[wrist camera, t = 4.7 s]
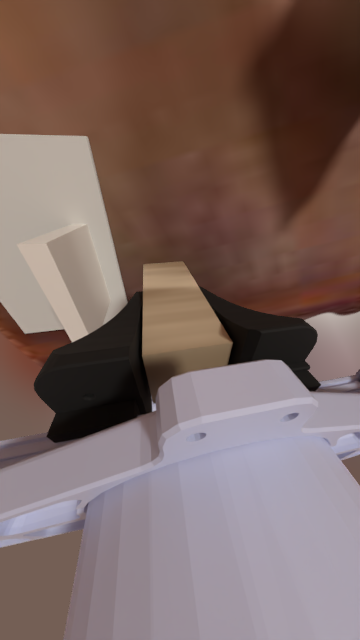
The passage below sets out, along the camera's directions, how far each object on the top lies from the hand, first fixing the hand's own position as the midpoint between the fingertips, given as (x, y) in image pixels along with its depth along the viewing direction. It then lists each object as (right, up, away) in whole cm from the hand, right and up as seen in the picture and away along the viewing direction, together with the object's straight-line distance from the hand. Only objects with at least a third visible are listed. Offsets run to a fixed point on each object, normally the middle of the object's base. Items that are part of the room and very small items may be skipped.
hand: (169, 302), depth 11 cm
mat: (-12, +5, +5) cm, 14 cm away
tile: (-8, +4, +6) cm, 11 cm away
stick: (-1, +2, +2) cm, 3 cm away
